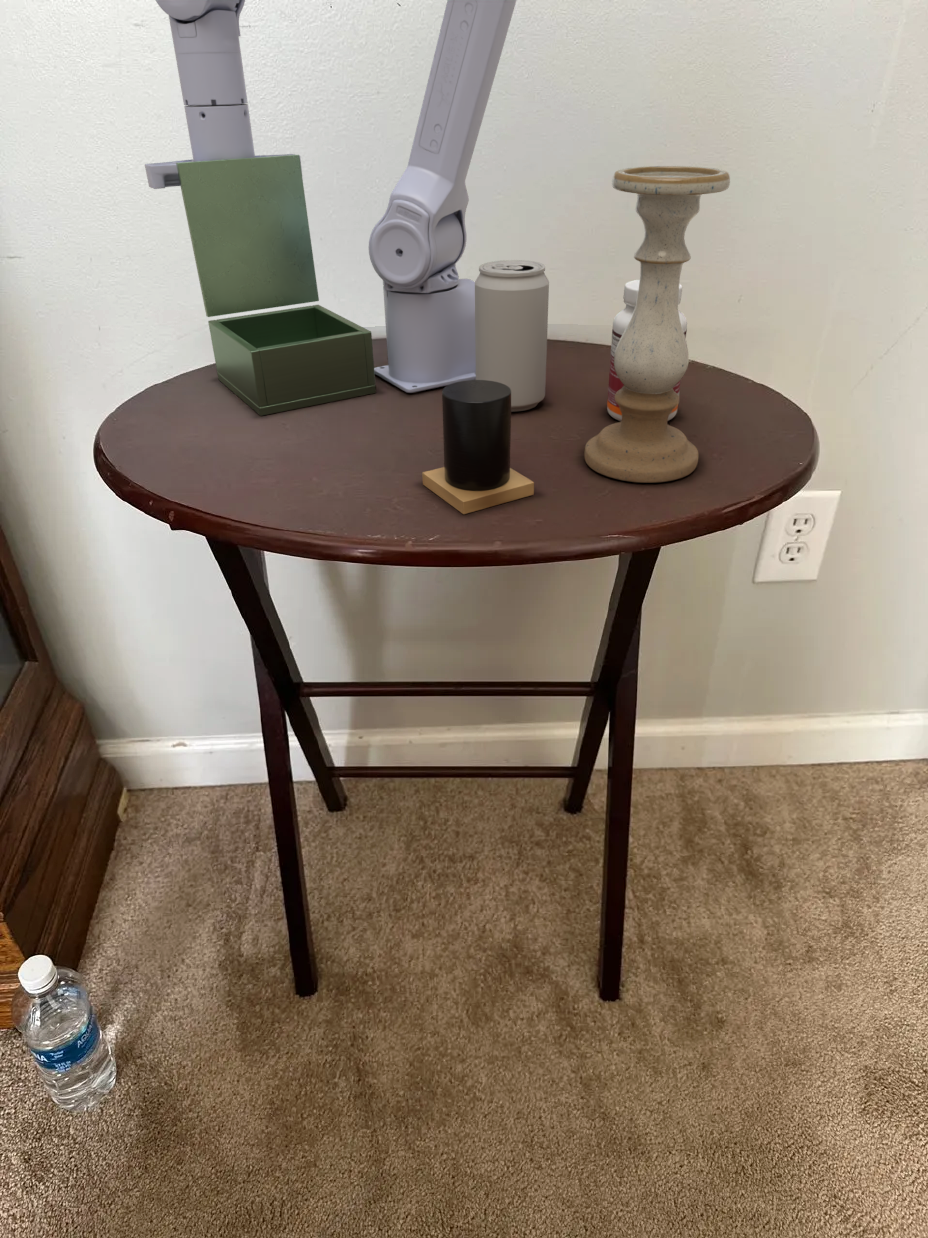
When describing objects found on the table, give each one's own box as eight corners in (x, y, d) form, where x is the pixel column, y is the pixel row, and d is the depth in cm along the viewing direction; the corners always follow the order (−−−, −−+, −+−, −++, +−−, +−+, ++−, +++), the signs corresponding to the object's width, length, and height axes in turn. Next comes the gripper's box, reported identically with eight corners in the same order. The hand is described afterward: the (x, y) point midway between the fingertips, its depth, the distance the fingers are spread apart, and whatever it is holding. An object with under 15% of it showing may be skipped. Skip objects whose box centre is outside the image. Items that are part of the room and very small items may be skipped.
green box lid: (299, 154, 80) (297, 154, 81) (177, 162, 75) (175, 162, 76) (319, 300, 87) (317, 300, 87) (208, 317, 82) (206, 316, 82)
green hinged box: (376, 392, 81) (371, 331, 78) (260, 416, 76) (250, 351, 73) (324, 360, 90) (318, 304, 87) (218, 379, 85) (207, 320, 82)
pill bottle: (653, 399, 79) (667, 273, 72) (690, 421, 74) (708, 288, 68) (593, 408, 77) (602, 280, 71) (627, 431, 72) (640, 295, 66)
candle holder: (561, 462, 66) (576, 172, 55) (626, 432, 72) (652, 161, 60) (656, 495, 61) (694, 182, 50) (718, 459, 67) (765, 169, 55)
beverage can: (540, 416, 75) (545, 273, 69) (469, 412, 76) (467, 271, 70) (548, 393, 80) (554, 258, 74) (482, 389, 81) (482, 256, 75)
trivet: (490, 467, 66) (490, 454, 66) (533, 494, 62) (534, 482, 61) (422, 484, 64) (422, 472, 63) (463, 514, 59) (463, 501, 59)
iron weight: (432, 473, 63) (429, 387, 59) (487, 459, 65) (487, 375, 61) (466, 496, 59) (464, 406, 56) (522, 481, 61) (524, 393, 58)
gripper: (276, 100, 84) (293, 248, 91) (125, 106, 77) (157, 264, 85) (302, 102, 78) (319, 259, 86) (143, 109, 72) (176, 276, 80)
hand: (240, 262), depth 85 cm, fingers closed
